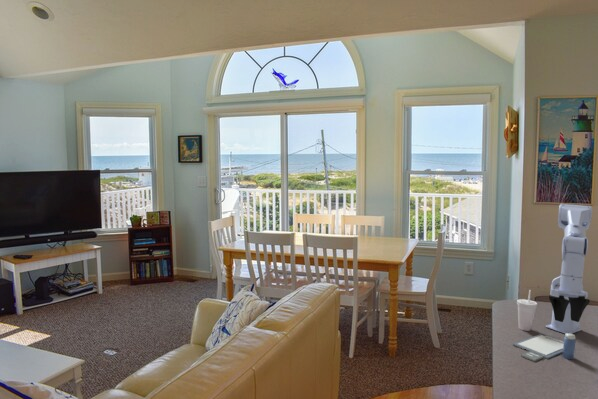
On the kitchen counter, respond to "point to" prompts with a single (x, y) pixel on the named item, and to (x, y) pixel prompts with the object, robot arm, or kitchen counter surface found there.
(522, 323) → the smoothie
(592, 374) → the kitchen counter surface
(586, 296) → the robot arm
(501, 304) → the kitchen counter surface
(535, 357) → the word card
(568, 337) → the blue bottle
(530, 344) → the clipboard
